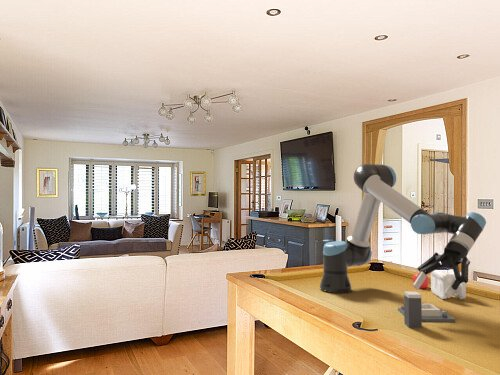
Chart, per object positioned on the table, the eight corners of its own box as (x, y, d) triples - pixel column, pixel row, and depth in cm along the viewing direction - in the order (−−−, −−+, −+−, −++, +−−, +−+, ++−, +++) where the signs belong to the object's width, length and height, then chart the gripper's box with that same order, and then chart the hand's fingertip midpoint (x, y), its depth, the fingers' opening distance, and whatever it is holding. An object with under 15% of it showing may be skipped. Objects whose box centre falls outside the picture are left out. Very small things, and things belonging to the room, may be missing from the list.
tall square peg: (409, 327, 134) (408, 294, 134) (404, 323, 138) (404, 291, 138) (421, 328, 134) (421, 294, 134) (416, 323, 138) (416, 291, 138)
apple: (426, 285, 197) (425, 270, 197) (432, 289, 189) (431, 273, 189) (410, 285, 198) (410, 270, 198) (415, 289, 190) (415, 273, 190)
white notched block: (467, 301, 167) (467, 274, 168) (442, 301, 168) (442, 274, 169) (452, 293, 182) (452, 268, 183) (429, 292, 183) (429, 268, 184)
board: (410, 321, 141) (410, 311, 141) (397, 310, 155) (397, 301, 155) (455, 321, 140) (454, 312, 140) (437, 310, 154) (437, 301, 154)
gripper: (495, 258, 134) (467, 306, 128) (436, 249, 157) (409, 290, 151) (485, 243, 132) (455, 292, 126) (426, 237, 155) (398, 278, 149)
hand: (430, 291), depth 138 cm, fingers open, 13 cm apart
